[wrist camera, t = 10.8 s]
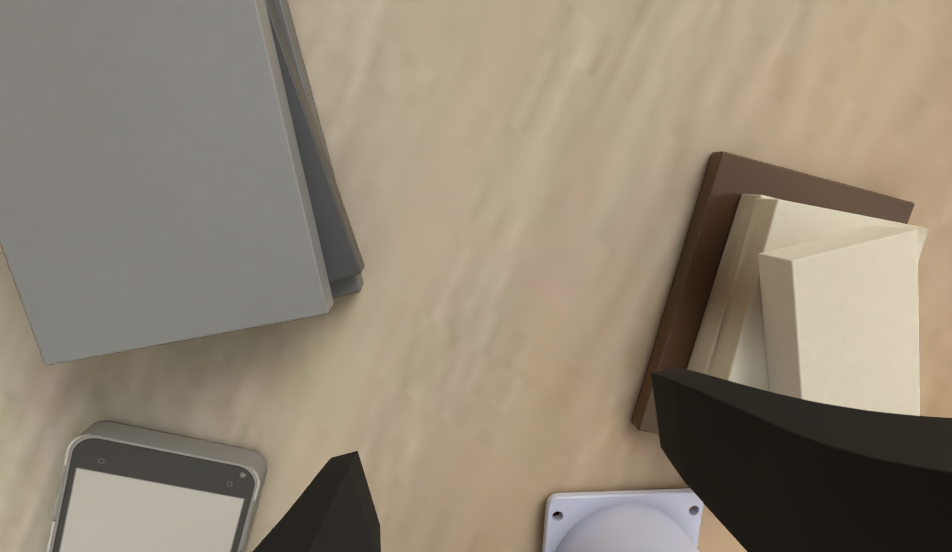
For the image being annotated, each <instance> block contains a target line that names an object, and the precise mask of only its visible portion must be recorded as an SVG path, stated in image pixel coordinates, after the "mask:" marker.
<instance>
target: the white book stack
mask: <svg viewBox="0 0 952 552" xmlns="http://www.w3.org/2000/svg"><path fill="white" fill-rule="evenodd" d="M913 207H914V203H913V202H909V201H905V200H901V199H898V198H894V197H890V196H887V195H883V194H879V193H875V192H872V191H868V190H864V189H861V188H857V187H853V186H849V185H846V184H842V183H838V182H835V181H831V180H827V179H824V178H820V177H816V176H812V175H809V174H805V173H801V172H798V171H794V170H790V169H786V168H783V167H779V166H775V165H772V164H768V163H764V162H760V161H757V160H753V159H749V158H746V157H742V156H738V155H734V154H731V153H727V152H713V153H712V155H711V158H710V161H709V165H708V168H707V171H706V175H705V178H704V181H703V185H702V188H701V191H700V195H699V198H698V202H697V205H696V208H695V212H694V215H693V218H692V222H691V225H690V228H689V232H688V235H687V238H686V242H685V245H684V248H683V252H682V255H681V258H680V262H679V265H678V269H677V272H676V275H675V279H674V282H673V285H672V289H671V292H670V295H669V299H668V302H667V305H666V309H665V312H664V315H663V319H662V322H661V325H660V329H659V332H658V335H657V339H656V342H655V346H654V349H653V352H652V356H651V359H650V362H649V366H648V369H647V372H646V376H645V379H644V382H643V386H642V389H641V392H640V396H639V399H638V402H637V406H636V409H635V412H634V416H633V419H632V424H633V425H634V426H635V427H636V428H637V429H638V430H640V431H646V432H653V433H659V430H658V423H657V415H656V408H655V400H654V393H653V386H652V378H651V373H654V372H658V371H662V370H665V369H669V368H673V367H677V368H683V369H687V370H692V371H696V372H699V373H703V374H707V375H711V376H714V377H718V378H721V379H725V380H728V381H732V382H736V383H739V384H743V385H747V386H750V387H754V388H758V389H762V390H765V391H769V382H768V370H767V359H766V347H765V335H764V324H763V312H762V301H761V289H760V278H759V266H758V254H759V253H762V252H766V251H770V250H774V249H779V248H783V247H787V246H791V245H795V244H799V243H803V242H807V241H811V240H815V239H819V238H824V237H828V236H832V235H836V234H840V233H844V232H848V231H852V230H856V229H860V228H864V227H869V226H873V225H874V226H883V227H893V228H903V229H913V230H917V245H918V261H919V258H920V255H921V252H922V249H923V246H924V243H925V240H926V237H927V234H928V231H929V229H928V228H925V227H920V226H915V225H910V224H907V223H908V220H909V218H910V215H911V212H912V210H913Z"/></svg>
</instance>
